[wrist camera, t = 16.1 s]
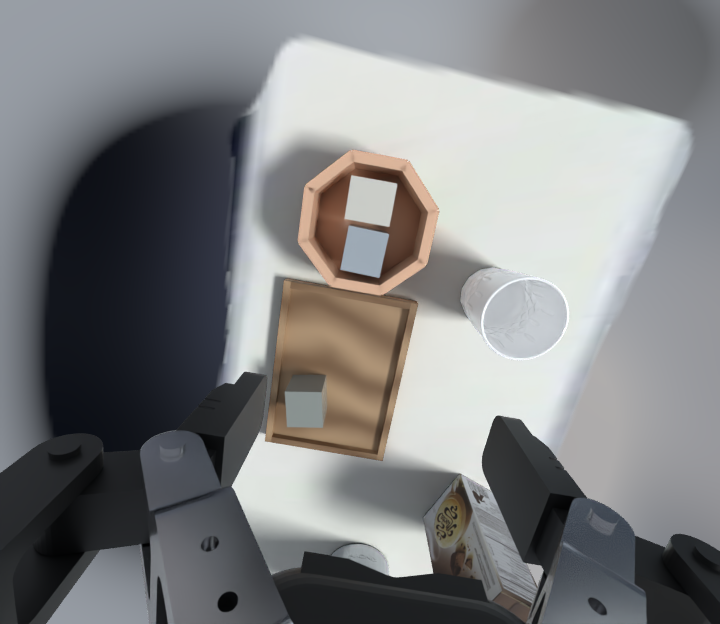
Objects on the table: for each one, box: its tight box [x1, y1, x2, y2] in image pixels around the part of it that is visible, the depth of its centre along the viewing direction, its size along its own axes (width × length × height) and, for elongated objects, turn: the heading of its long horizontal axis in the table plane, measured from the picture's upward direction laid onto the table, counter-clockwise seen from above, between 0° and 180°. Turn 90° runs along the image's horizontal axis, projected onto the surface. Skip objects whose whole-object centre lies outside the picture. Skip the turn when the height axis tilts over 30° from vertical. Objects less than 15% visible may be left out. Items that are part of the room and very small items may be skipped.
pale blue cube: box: [340, 224, 389, 278], centre depth 37 cm, size 4×4×5 cm
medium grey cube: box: [285, 375, 327, 428], centre depth 43 cm, size 5×4×4 cm
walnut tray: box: [265, 278, 418, 461], centre depth 44 cm, size 22×16×1 cm
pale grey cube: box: [345, 175, 397, 227], centre depth 36 cm, size 4×4×5 cm
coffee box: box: [423, 474, 537, 623], centre depth 42 cm, size 9×6×16 cm
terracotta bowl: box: [298, 150, 439, 296], centre depth 37 cm, size 13×13×6 cm
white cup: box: [460, 267, 569, 360], centre depth 37 cm, size 8×8×10 cm
